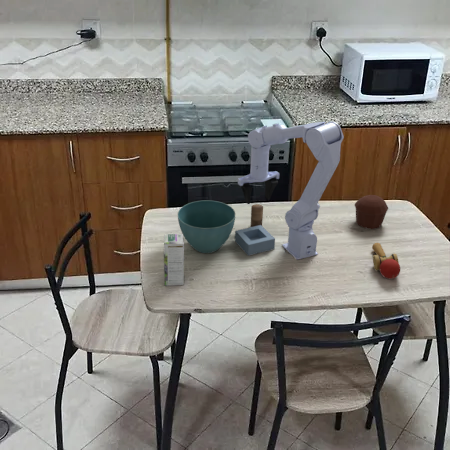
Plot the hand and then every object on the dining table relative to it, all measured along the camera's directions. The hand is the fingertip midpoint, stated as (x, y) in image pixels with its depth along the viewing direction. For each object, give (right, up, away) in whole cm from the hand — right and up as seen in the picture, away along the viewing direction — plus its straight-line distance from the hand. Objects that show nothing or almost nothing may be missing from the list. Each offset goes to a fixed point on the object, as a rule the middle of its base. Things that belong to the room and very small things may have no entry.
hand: (257, 200), depth 194 cm
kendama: (+38, -21, -14) cm, 46 cm away
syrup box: (-26, -25, -23) cm, 42 cm away
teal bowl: (-17, -15, -6) cm, 24 cm away
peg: (0, -9, +5) cm, 10 cm away
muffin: (+40, -8, +10) cm, 42 cm away
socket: (-1, -15, -5) cm, 16 cm away
